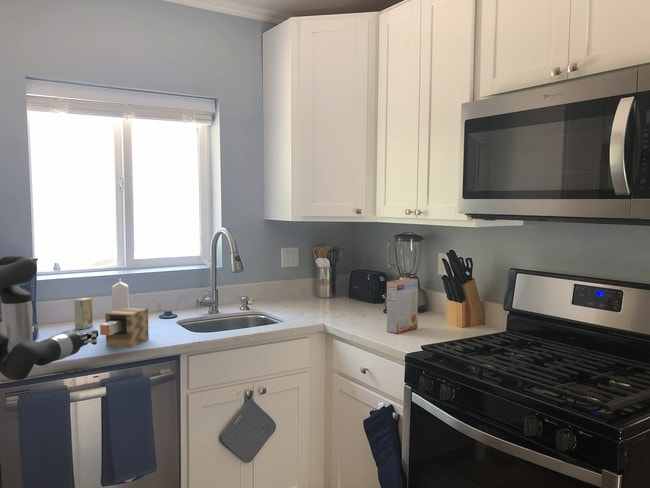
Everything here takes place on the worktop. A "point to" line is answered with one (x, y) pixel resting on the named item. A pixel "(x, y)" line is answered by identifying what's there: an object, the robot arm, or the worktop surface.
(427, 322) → the worktop surface
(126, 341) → the block
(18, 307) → the robot arm
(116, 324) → the peg
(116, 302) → the milk
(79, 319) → the skincare box
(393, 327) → the cracker box
